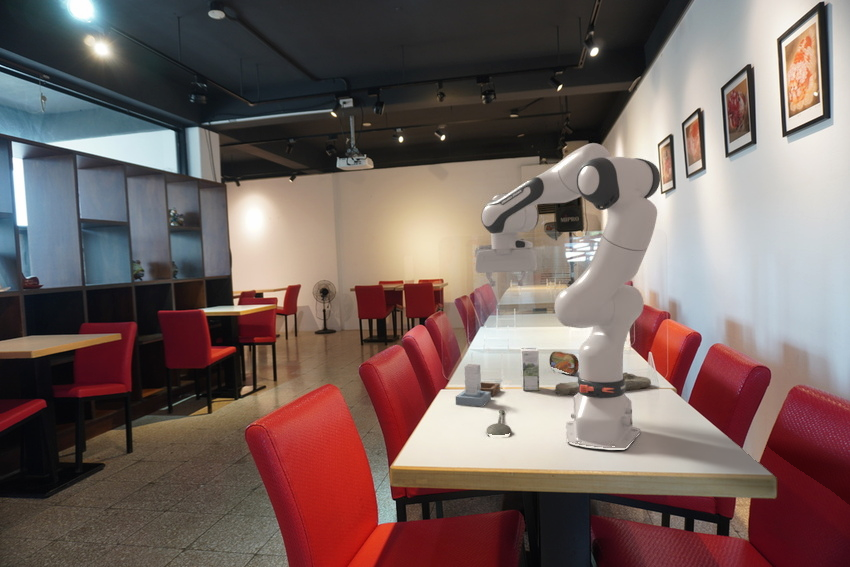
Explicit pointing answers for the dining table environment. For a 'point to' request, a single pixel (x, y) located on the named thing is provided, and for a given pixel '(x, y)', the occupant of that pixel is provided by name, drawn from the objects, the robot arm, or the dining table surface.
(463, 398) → the pair of square sockets
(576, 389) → the elongated rock
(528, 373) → the syrup box
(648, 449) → the dining table surface
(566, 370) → the tin
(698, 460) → the dining table surface
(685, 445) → the dining table surface
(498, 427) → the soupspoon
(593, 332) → the robot arm
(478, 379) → the steel peg
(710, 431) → the dining table surface
